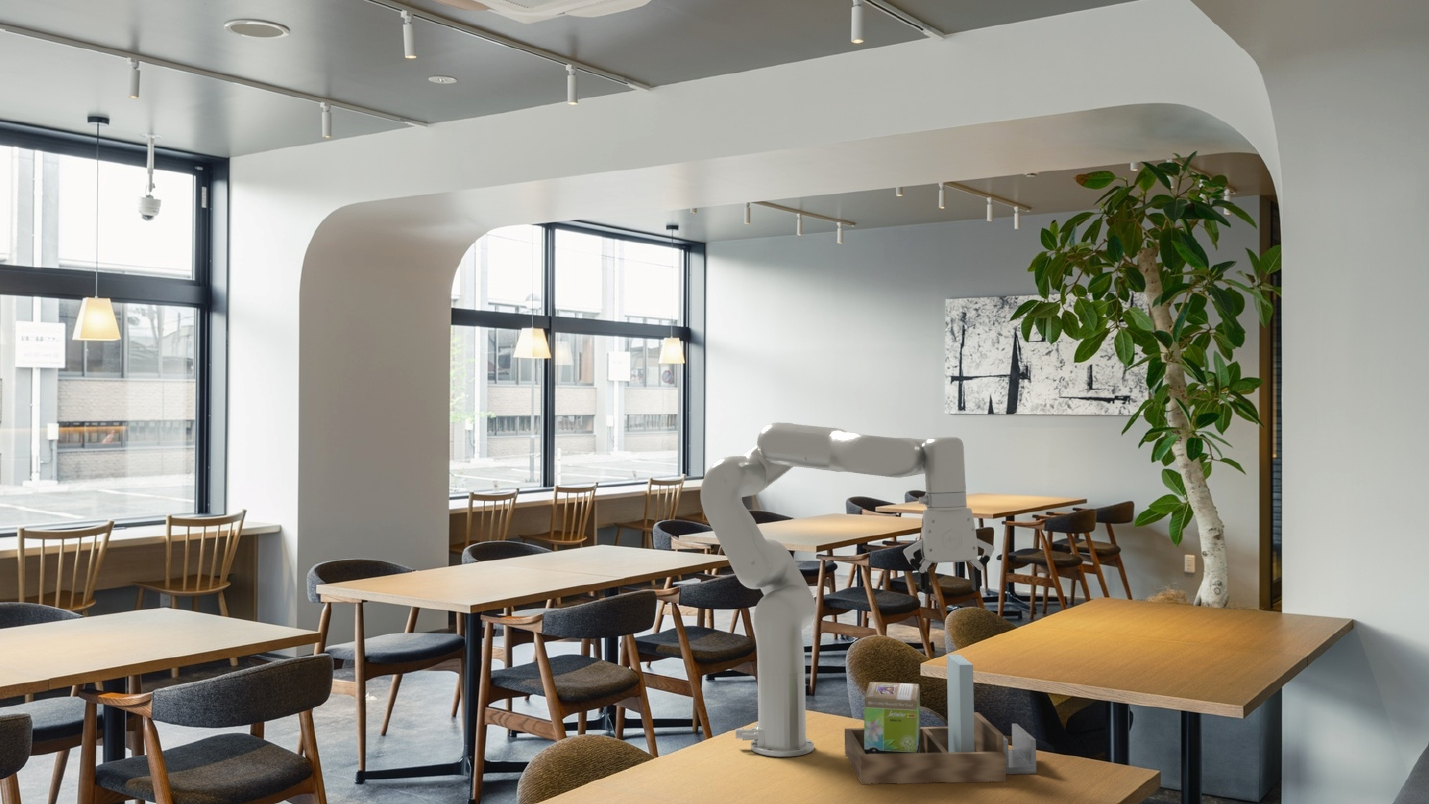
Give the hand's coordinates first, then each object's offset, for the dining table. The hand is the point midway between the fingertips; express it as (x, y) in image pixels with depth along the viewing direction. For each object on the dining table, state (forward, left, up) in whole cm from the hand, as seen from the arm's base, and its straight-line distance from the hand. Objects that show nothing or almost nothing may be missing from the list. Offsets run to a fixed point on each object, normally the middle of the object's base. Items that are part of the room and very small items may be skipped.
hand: (950, 592), depth 220 cm
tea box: (-12, -1, -33) cm, 35 cm away
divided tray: (-6, -1, -33) cm, 33 cm away
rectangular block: (+1, -1, -33) cm, 33 cm away
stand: (+11, -1, -33) cm, 34 cm away
